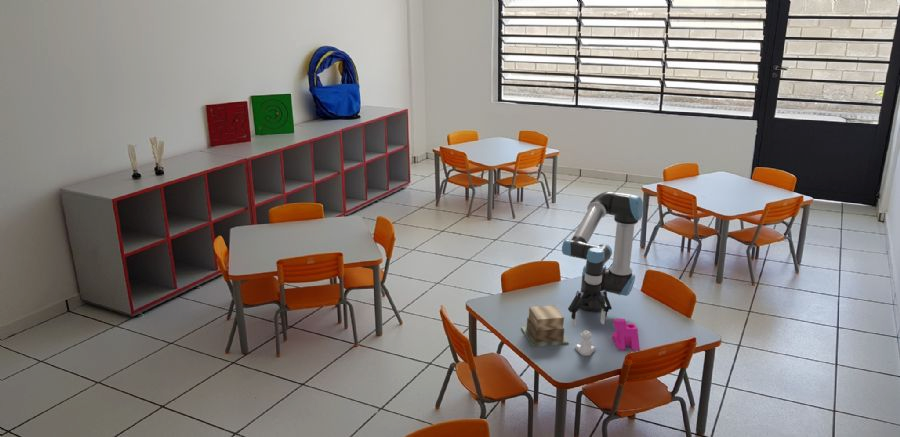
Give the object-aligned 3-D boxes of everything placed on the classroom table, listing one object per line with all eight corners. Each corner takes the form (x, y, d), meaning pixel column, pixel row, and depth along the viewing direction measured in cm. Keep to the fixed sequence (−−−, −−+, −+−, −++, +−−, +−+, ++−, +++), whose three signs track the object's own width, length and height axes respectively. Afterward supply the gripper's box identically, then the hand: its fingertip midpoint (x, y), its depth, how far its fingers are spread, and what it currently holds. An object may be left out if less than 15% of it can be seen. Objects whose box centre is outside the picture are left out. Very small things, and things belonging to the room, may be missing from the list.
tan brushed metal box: (555, 325, 357) (557, 302, 352) (568, 343, 340) (570, 319, 336) (521, 328, 353) (523, 304, 349) (532, 346, 337) (534, 322, 332)
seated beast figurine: (595, 349, 336) (597, 326, 332) (596, 358, 328) (598, 335, 324) (575, 347, 338) (577, 324, 334) (575, 356, 330) (577, 333, 326)
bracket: (611, 337, 348) (614, 318, 344) (632, 337, 348) (635, 318, 344) (617, 350, 336) (620, 330, 333) (639, 350, 337) (642, 331, 333)
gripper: (615, 276, 326) (610, 318, 334) (563, 279, 322) (559, 321, 329) (622, 283, 320) (617, 326, 327) (569, 286, 315) (565, 329, 322)
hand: (588, 324), depth 328 cm, fingers open, 13 cm apart
